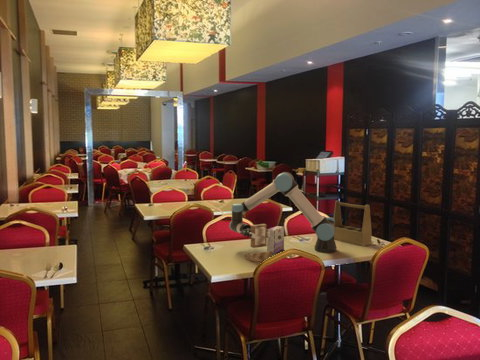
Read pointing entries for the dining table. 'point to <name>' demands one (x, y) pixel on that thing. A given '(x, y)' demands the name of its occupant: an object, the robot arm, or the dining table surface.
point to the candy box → (275, 239)
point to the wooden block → (259, 235)
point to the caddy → (351, 233)
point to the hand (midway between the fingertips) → (262, 235)
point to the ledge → (259, 256)
